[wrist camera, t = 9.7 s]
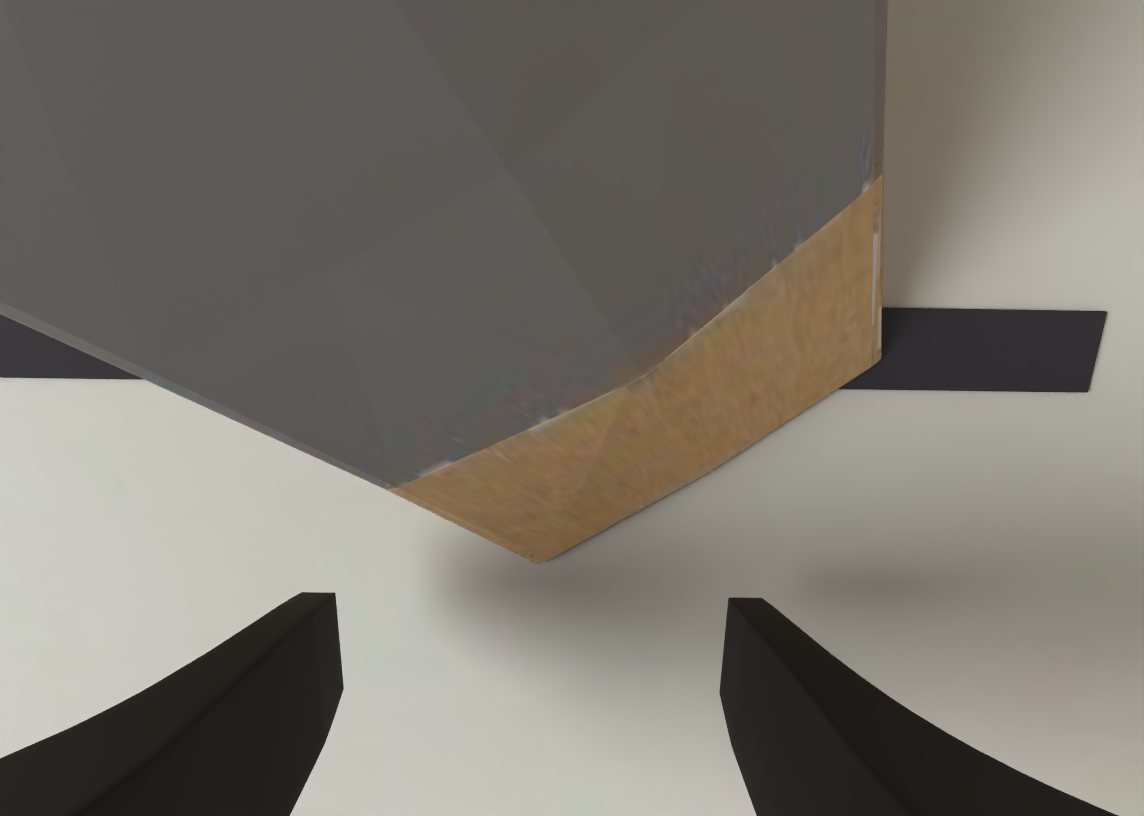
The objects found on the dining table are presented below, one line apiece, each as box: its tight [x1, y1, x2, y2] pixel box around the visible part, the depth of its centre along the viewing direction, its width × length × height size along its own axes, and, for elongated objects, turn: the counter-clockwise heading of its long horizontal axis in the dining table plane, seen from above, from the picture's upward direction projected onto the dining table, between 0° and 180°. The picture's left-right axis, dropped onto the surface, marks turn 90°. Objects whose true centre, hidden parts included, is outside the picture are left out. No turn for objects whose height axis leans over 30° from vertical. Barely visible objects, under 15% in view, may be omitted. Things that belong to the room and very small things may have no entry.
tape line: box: [0, 308, 1107, 392], centre depth 12 cm, size 2×24×1 cm, turn 89°
